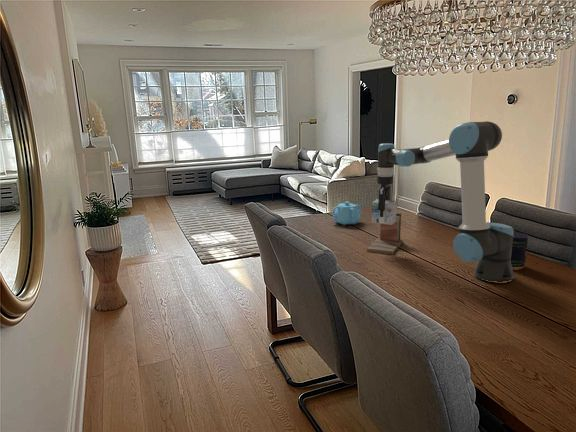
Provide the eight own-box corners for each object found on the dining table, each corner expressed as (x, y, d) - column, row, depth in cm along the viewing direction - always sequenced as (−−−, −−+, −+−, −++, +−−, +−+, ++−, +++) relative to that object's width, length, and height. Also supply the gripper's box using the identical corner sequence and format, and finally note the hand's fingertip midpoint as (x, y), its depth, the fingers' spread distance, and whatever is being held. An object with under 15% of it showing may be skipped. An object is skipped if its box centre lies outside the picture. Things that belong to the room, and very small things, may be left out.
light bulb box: (371, 222, 222) (371, 201, 219) (375, 219, 228) (375, 199, 225) (392, 225, 217) (393, 203, 214) (396, 221, 223) (396, 200, 220)
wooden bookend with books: (392, 254, 218) (393, 224, 214) (366, 251, 224) (367, 221, 220) (402, 242, 237) (404, 213, 233) (378, 239, 243) (379, 211, 239)
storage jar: (522, 263, 202) (525, 232, 199) (527, 271, 193) (531, 238, 189) (498, 262, 205) (501, 230, 201) (502, 269, 196) (505, 237, 192)
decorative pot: (328, 224, 275) (328, 202, 272) (341, 218, 288) (341, 198, 285) (352, 228, 266) (353, 205, 263) (364, 221, 279) (364, 200, 276)
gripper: (383, 172, 227) (381, 216, 232) (372, 178, 210) (370, 225, 215) (397, 173, 223) (395, 217, 229) (387, 179, 207) (386, 226, 212)
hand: (383, 221), depth 222 cm, fingers closed on light bulb box, 7 cm apart
